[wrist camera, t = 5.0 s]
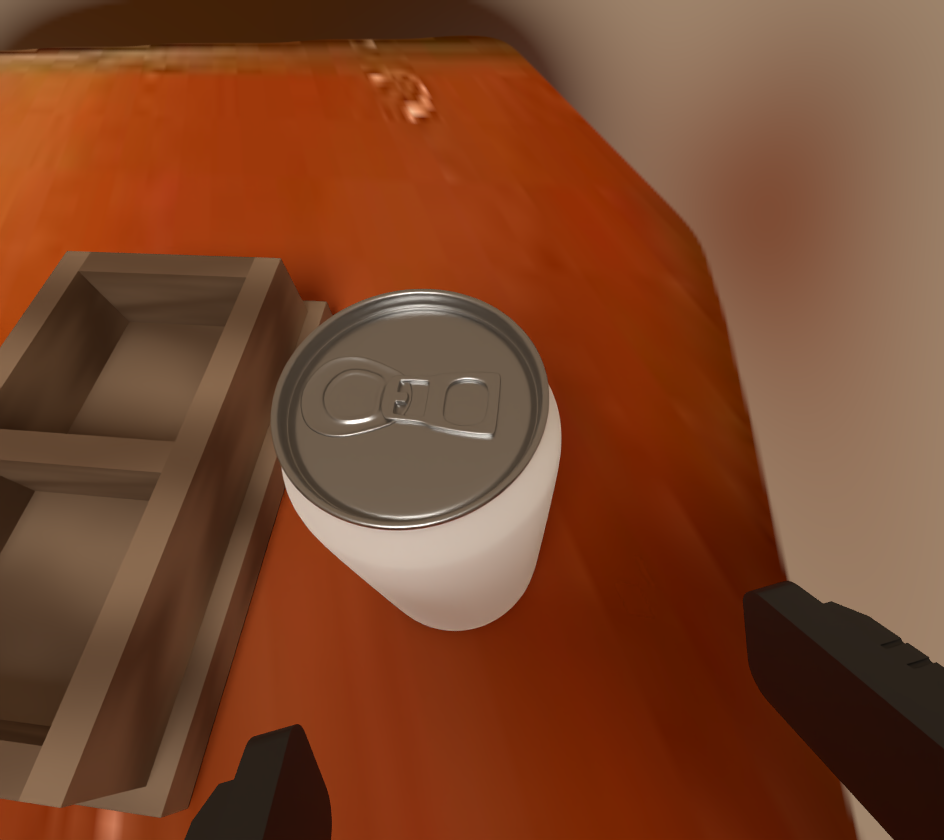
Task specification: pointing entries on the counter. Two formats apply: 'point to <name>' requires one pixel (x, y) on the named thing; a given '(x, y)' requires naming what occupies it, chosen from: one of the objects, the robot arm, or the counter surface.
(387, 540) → the can
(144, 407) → the tray
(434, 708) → the counter surface
